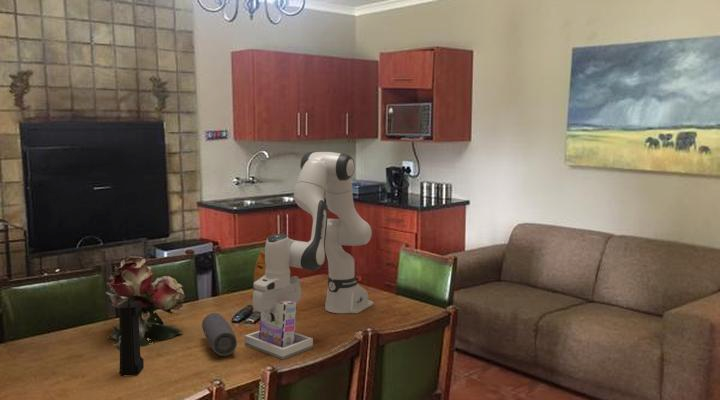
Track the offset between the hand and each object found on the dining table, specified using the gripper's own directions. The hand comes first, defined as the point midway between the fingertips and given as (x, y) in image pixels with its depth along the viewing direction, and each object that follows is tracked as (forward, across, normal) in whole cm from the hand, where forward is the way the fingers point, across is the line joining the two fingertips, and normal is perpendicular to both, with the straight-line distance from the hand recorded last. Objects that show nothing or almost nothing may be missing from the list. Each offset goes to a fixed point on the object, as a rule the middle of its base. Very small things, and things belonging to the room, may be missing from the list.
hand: (278, 317), depth 219 cm
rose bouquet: (+11, +26, -48) cm, 56 cm away
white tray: (+11, 0, 0) cm, 11 cm away
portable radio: (+11, +46, -19) cm, 51 cm away
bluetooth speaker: (+11, +15, -15) cm, 24 cm away
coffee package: (+11, -34, -47) cm, 59 cm away
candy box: (+10, +1, 0) cm, 10 cm away
